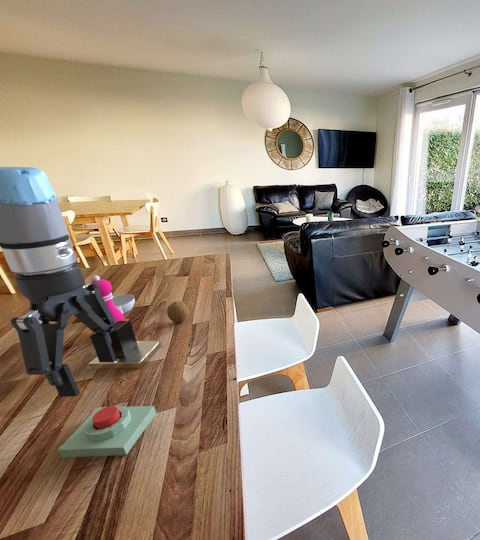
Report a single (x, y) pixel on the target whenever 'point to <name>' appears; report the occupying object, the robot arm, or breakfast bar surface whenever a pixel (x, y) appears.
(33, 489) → the breakfast bar surface
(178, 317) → the fruit
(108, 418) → the button
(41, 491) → the breakfast bar surface
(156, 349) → the shiny metal plate
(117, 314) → the pepper mill
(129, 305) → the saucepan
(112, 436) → the block
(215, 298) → the breakfast bar surface
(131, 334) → the black rectangular block
